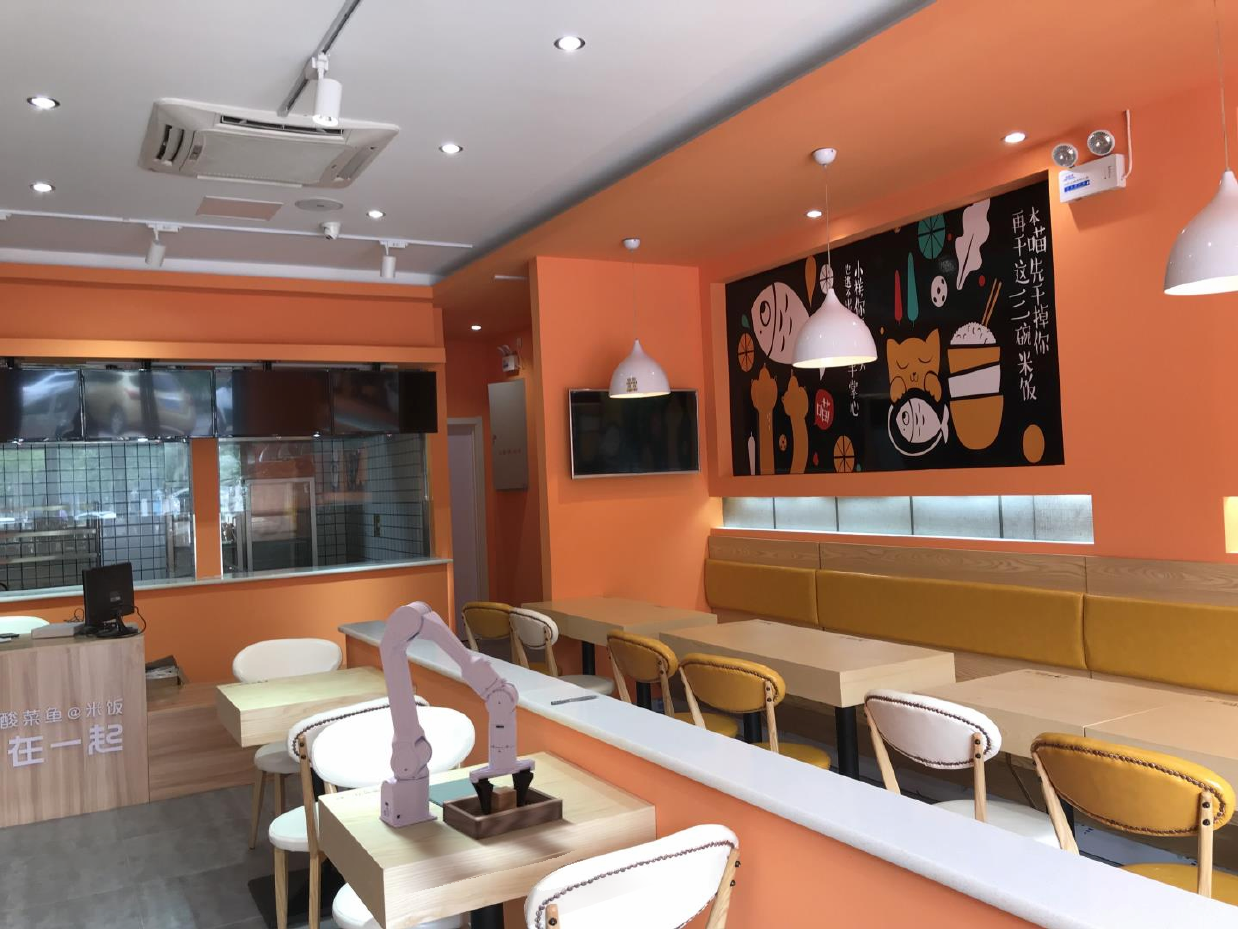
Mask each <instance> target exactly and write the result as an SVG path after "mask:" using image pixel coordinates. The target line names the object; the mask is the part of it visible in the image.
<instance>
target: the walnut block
mask: <svg viewBox="0 0 1238 929" xmlns="http://www.w3.org/2000/svg"><path fill="white" fill-rule="evenodd" d="M498 787H499V788H494V789H493V791H492V798H491V814H494V813H498V812H502V811H507V810H511V809H515V808H517V807H516V790H514V789H512V788H510V787H511V786H507V785H505V786H498Z"/></svg>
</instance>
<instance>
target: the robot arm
mask: <svg viewBox="0 0 1238 929" xmlns="http://www.w3.org/2000/svg"><path fill="white" fill-rule="evenodd" d="M416 637H417V639H419V640H423V641H424V640H425V641H431V642H434V643H435V644H436V645H437V646H438V647H439V648H440V649H441V650H442V651H443V652H445V654H446V655H447V656H448V657H449V658H450V659H452V661H454V662H455V663H456V664H457V665H458V666H459V667H460V670H461V673H460V675H461V678H462V679H463V680H464V681H465V682H466V683H467V685H469V687H470V688H471V689H472V690H473V691H474V692H475V693H476V694H477V695H478V696H479V697H480V698H481V699H482V700H484V701H486V702H484V705H485V709H486V710H487V713H488V718H489V720H488V721H489V722H488V765H485V766H482V767H479V768H477V769H473V770H470V771H469V772H468V774H469V775H468V778H469V781H471V783H472V785H473V787H474V789H475V791H476V793H477V795H478V798H479V801H480V804H481V808H482V813H481V814H482V816H486V815H490V814H491V798H492V791H493V787H494V785H495V784H494V783H491V781H490V779H493V778H498V777H499V778H500V777H505V776H508V775H511V778H512V783H513V786H514V790H516V808H519V807H523V806H524V804H525V803H524V800H525V796H526V793H527V790H528V788H529V787H530V786H531V784H532V781H533V780H534V777H535V776H534V773H533V772H532V771H535V770H536V760H534V759H530V758H529V759H519V760H518V758H517V755H518V753H517V752H518V751H517V750H518V749H517V748H518V747H517V745H518V744H517V742H518V741H517V740H518V738H517V737H518V736H517V735H518V734H517V732H518V730H517V728H518V727H517V726H518V725H517V723H518V722H517V709H516V706H517V705H518V702H519V698H520V697H519V696H520V695H519V691H518V690H517V688H516V686H515V684H513V683H511V682H507V681H508V680H507V678H505V677H503V678H502V677H501V676H500V675H499V673H498V672H497V671H496V670H495V669H494V668H493V667H492V666H491V665H492V661H491V660H489V659H488V658H487V659H486V660H485V659H484V658H483V657H482V656H473V655H472V653H471V652H470V651H469V650H468V648H467V647H466V646H465V645H464V644H463V643H462V642H461V641H460V639H459V638H458V637H457V636H456V634H454V632H453V631H452V630H451V629H450V627H449V626H448V625H447V624H446V622H444V620H443V619H442V617H441V616H440V615H439V613H438V612H436V611H434V610H433V611H432V608H431V607H430V605H428V604H427V603H426V602H424V601H413V602H410V603H409V604H407V605H402V606H399V607H398V608H396V609H395V610H394V611H393V613H391V615H390V616H389V617H388V618H387V619H386V626H385V629H384V632H383V635H382V637H381V640H380V643H379V654H380V660H381V664H382V670H383V671H382V672H383V676H384V681H385V686H386V693H387V698H388V699H387V700H388V704H389V710H390V715H391V721H392V726H393V735H392V736H393V737H392V740H391V749H392V751H391V752H392V753H391V756H390V762H389V765H390V769H391V771H392V773H393V776H391V777H390V778H387V779H385V780H383V781H382V783H381V785H380V815H379V817H378V818H379V819H380V820H382V821H383V822H384V823H386V824H387V825H390V826H391V827H393V828H395V829H396V828H397V829H398V828H403V827H406V826H410V825H414V824H419V823H423V822H427V821H431V820H436V819H438V815H437V814H435V813H432V812H431V811H430V800H429V786H430V769H429V768H428V763H429V762H430V761H431V759H432V758H433V747H432V745H431V743H430V742H429V740H428V739H427V737H426V734H425V730H424V728H423V727H422V726H421V724H420V722H419V721H420V720H419V715H418V710H417V709H418V708H417V705H416V704H417V703H416V700H415V692H414V688H413V682H412V677H411V670H410V666H409V660H408V654H407V649H408V648H409V646H410V645H411V643H412V642H413V641H414V640H415V638H416ZM493 784H494V785H493Z"/></svg>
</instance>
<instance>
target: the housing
mask: <svg viewBox="0 0 1238 929" xmlns="http://www.w3.org/2000/svg"><path fill="white" fill-rule="evenodd" d="M509 787H510V788H512V789H514V785H513V786H509ZM563 802H564V799H563V798H561V797H555V796H553V795H550V794H548V793H546V792H544V791H541V790H538V789H535V788H534V787H533V786H529V788H528V790H527V793H526V796H525V800H524V804H525V806H524V805H523V807H519V808H517V807H516V808H515V809H511V810H507V811H502V812H498V813H494V814H490V815H486V816H485V815H482V816H477V817H476V815H480V814H483V813H482V808H481V804H480V801H479V798H478V795H477V794H476V795H471V796H467V797H462V798H458V799H453V800H449V801H444V802H443V807H442V822H444V823H446V824H447V825H450V826H452V827H453V828H455V829H457V830H459V831H461V832H463V833H464V834H466V835H468V836H470V837H472V838H473V839H475V840H482V839H486V838H490V837H493V836H497V835H501V834H505V833H509V832H513V831H516V830H520V829H524V828H529V827H532V826H536V825H539V824H544V823H547V822H552V821H555V820H559V819H562V818H563V817H564V816H563V810H564V809H563V807H564V806H563V805H564V804H563Z"/></svg>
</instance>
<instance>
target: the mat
mask: <svg viewBox="0 0 1238 929" xmlns="http://www.w3.org/2000/svg"><path fill="white" fill-rule="evenodd" d="M492 784H493V785H494V787H493V789H494V788H499V787H500V786H498V785H495V784H494V783H492ZM476 794H477V793H476V791H475V789H474V787H473V785H472V783H471V781H469V777H465V778H464V777H463V778H461V779H455V780H451V781H445V782H440V783H436V784H432V785H430V784H429V802H432V803H433V804H435V803H436V805H437V804H438V805H437V806H439V807H441V808H443V802H444V801H449V800H453V799H458V798H462V797H467V796H471V795H476Z"/></svg>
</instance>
